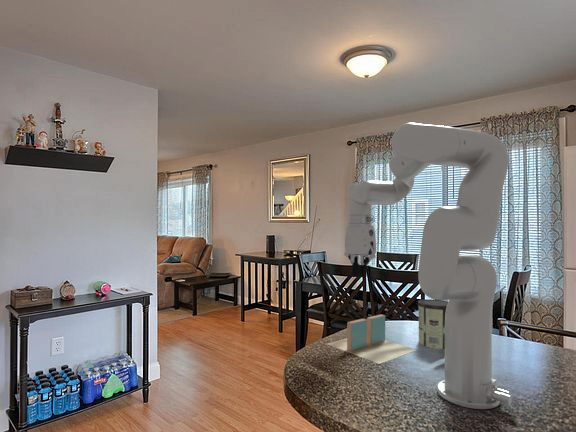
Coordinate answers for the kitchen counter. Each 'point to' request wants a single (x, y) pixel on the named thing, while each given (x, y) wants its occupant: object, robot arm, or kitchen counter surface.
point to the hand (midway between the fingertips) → (359, 275)
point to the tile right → (375, 329)
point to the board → (376, 350)
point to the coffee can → (432, 323)
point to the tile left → (356, 334)
